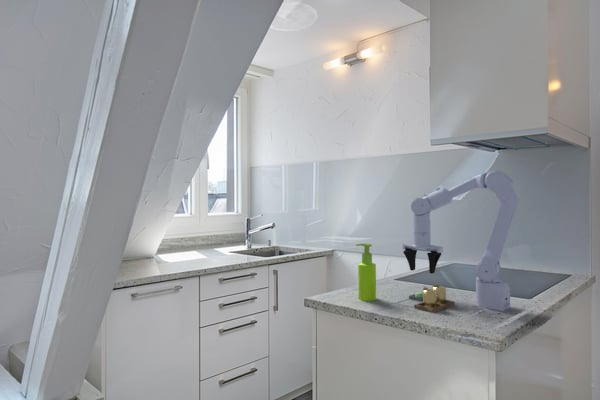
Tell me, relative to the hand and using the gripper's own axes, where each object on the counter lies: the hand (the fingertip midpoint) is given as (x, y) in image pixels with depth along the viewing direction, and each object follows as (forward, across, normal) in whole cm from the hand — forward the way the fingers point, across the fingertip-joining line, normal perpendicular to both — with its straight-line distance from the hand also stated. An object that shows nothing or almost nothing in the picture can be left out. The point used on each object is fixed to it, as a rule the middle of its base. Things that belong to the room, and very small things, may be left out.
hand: (422, 271), depth 137 cm
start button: (+10, -1, +4) cm, 10 cm away
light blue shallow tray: (+10, -2, +10) cm, 15 cm away
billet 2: (+9, -10, +6) cm, 14 cm away
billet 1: (+9, -10, +11) cm, 17 cm away
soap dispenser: (+10, +12, +16) cm, 22 cm away
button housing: (+10, -1, +4) cm, 11 cm away
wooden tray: (+10, -10, +8) cm, 16 cm away
